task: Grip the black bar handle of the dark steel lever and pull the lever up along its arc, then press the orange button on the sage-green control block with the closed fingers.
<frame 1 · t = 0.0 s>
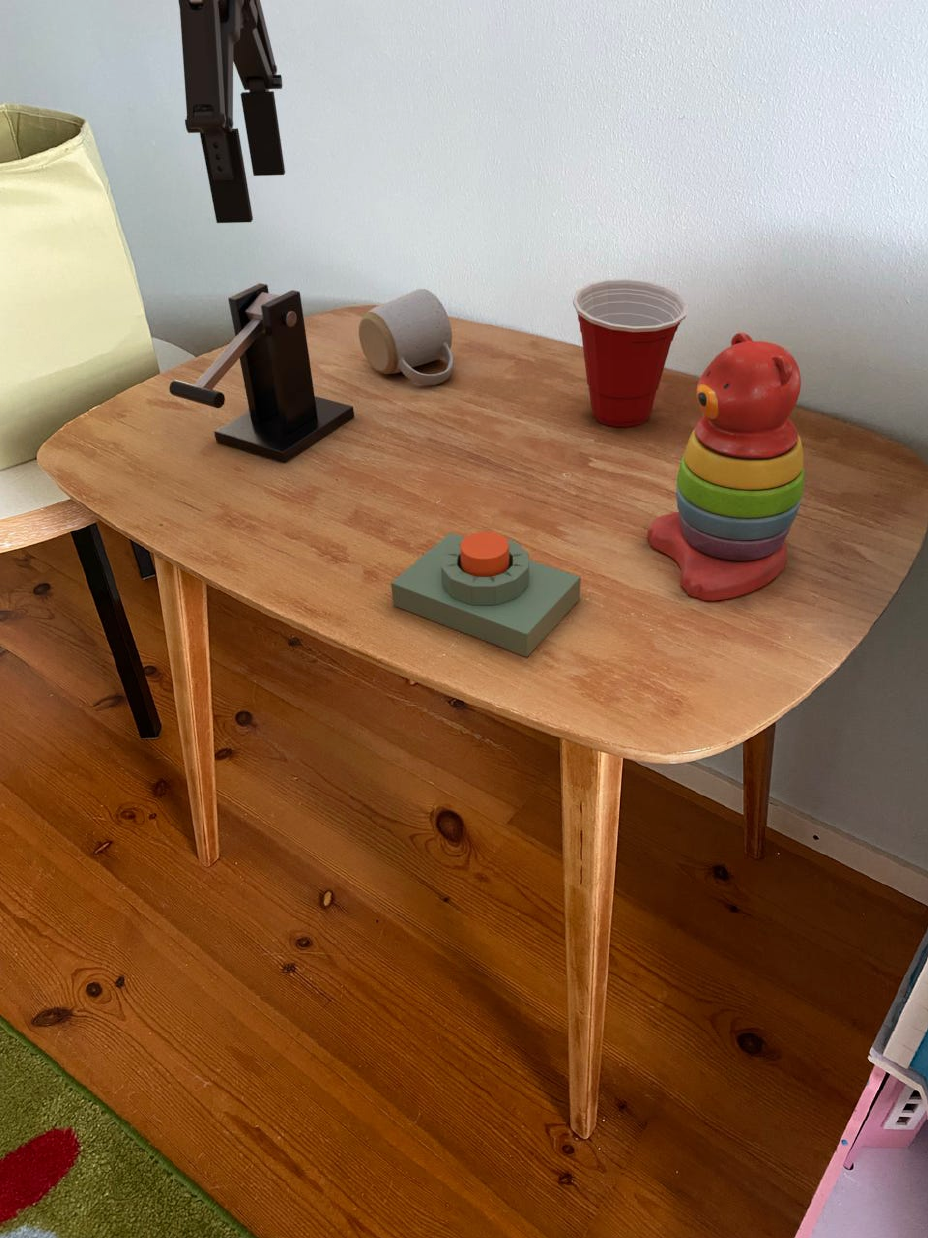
hand: (253, 196, 82), 23 cm above the table, tool pointing down, fingers open, 13 cm apart
ceramic mug: (415, 370, 110), on the table
bracket: (286, 429, 100), on the table
control block: (486, 602, 76), on the table
plastic cup: (622, 416, 99), on the table
stacking bear: (723, 558, 79), on the table
lever: (235, 350, 90), point 10 cm above the table, hinge at -20.0°
button: (484, 554, 73), point 4 cm above the table, slide at 0.1 cm
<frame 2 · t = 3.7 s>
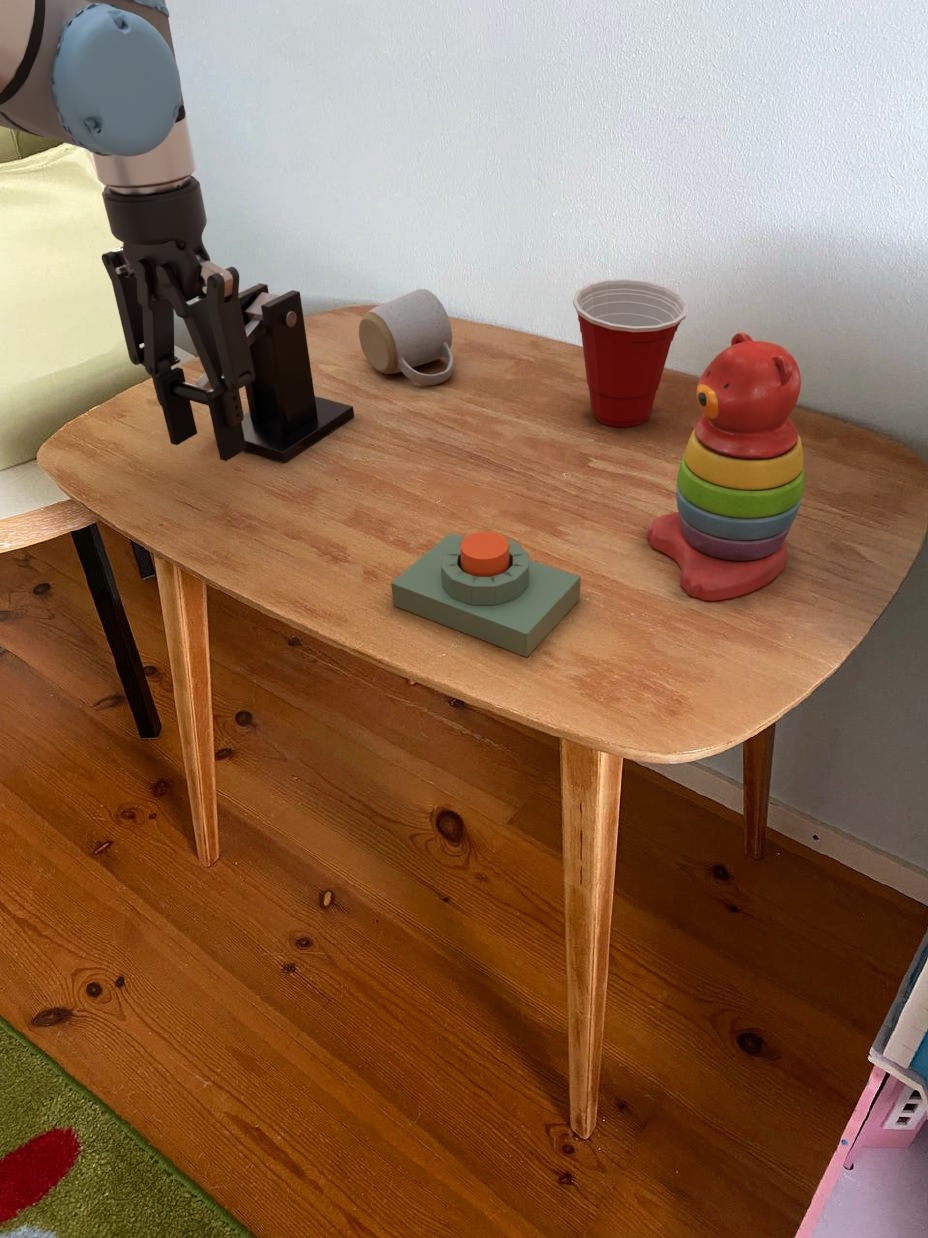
hand: (208, 445, 91), 3 cm above the table, tool pointing down, fingers closed on lever, 5 cm apart
lever: (235, 350, 90), point 10 cm above the table, hinge at -20.0°, touching gripper
everything else where it was.
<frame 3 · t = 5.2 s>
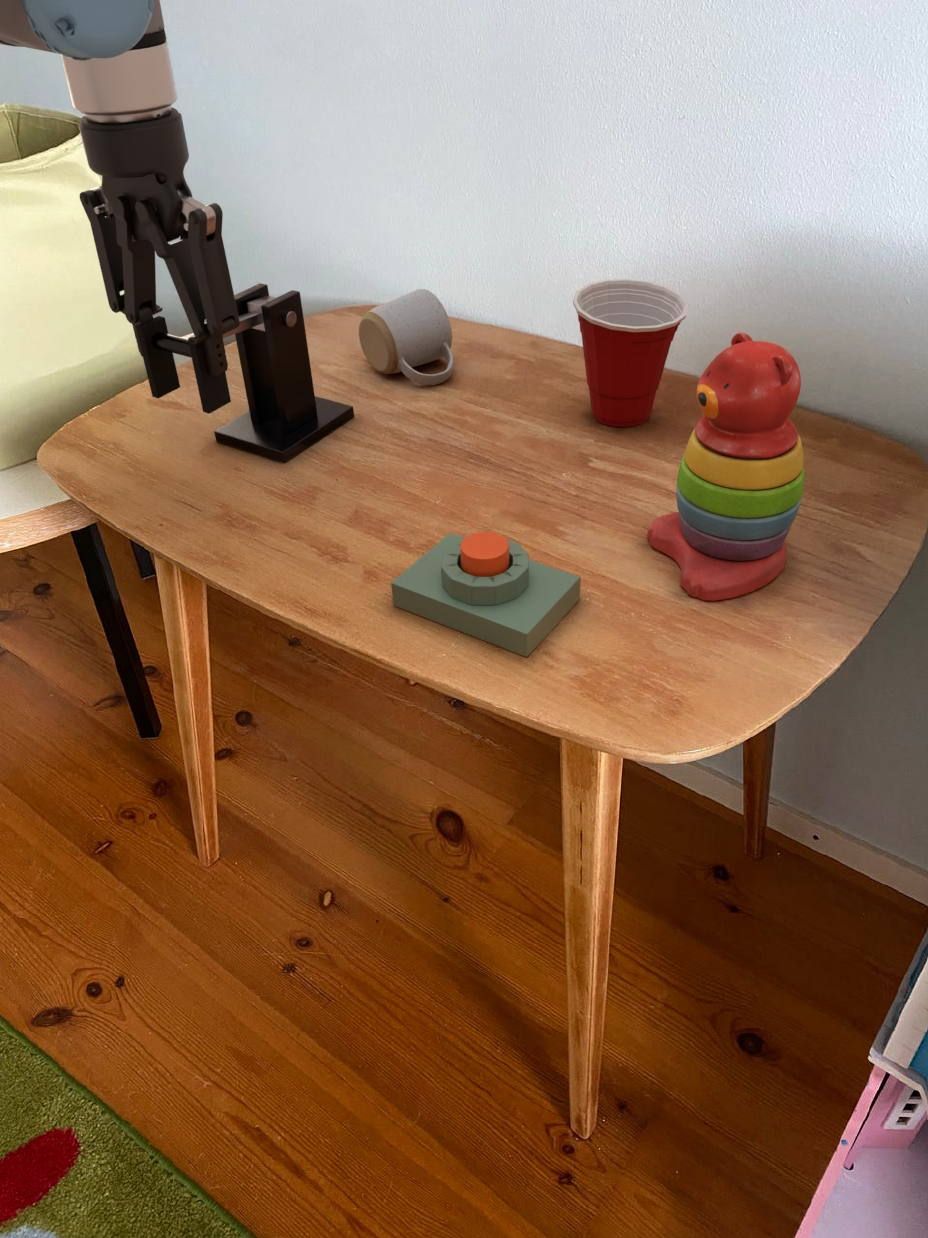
hand: (191, 398, 87), 8 cm above the table, tool pointing down, fingers closed on lever, 5 cm apart
lever: (228, 327, 89), point 12 cm above the table, hinge at 5.0°, touching gripper
everything else where it was.
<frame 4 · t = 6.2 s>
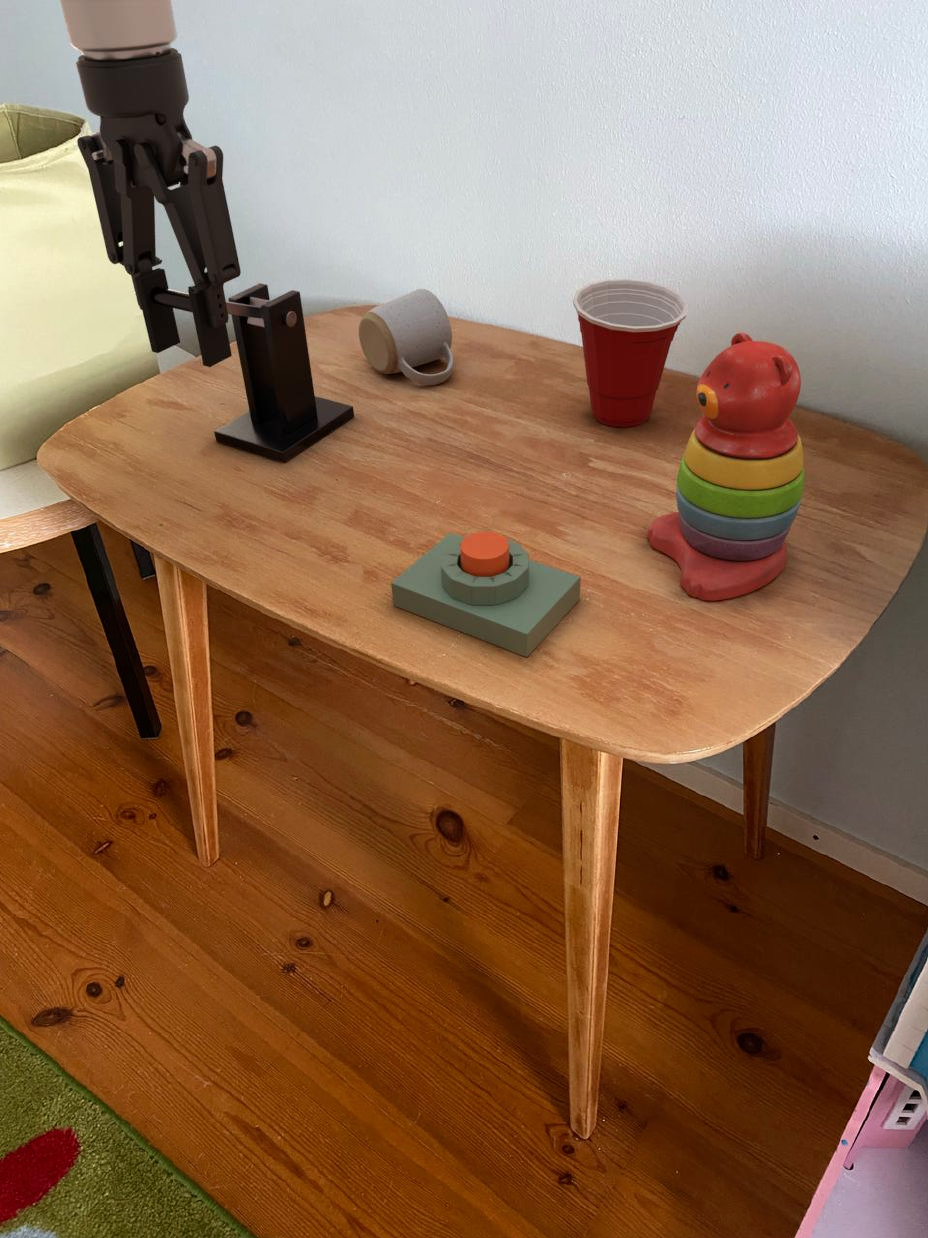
hand: (191, 353, 86), 12 cm above the table, tool pointing down, fingers closed on lever, 5 cm apart
lever: (228, 307, 88), point 14 cm above the table, hinge at 24.7°, touching gripper
everything else where it was.
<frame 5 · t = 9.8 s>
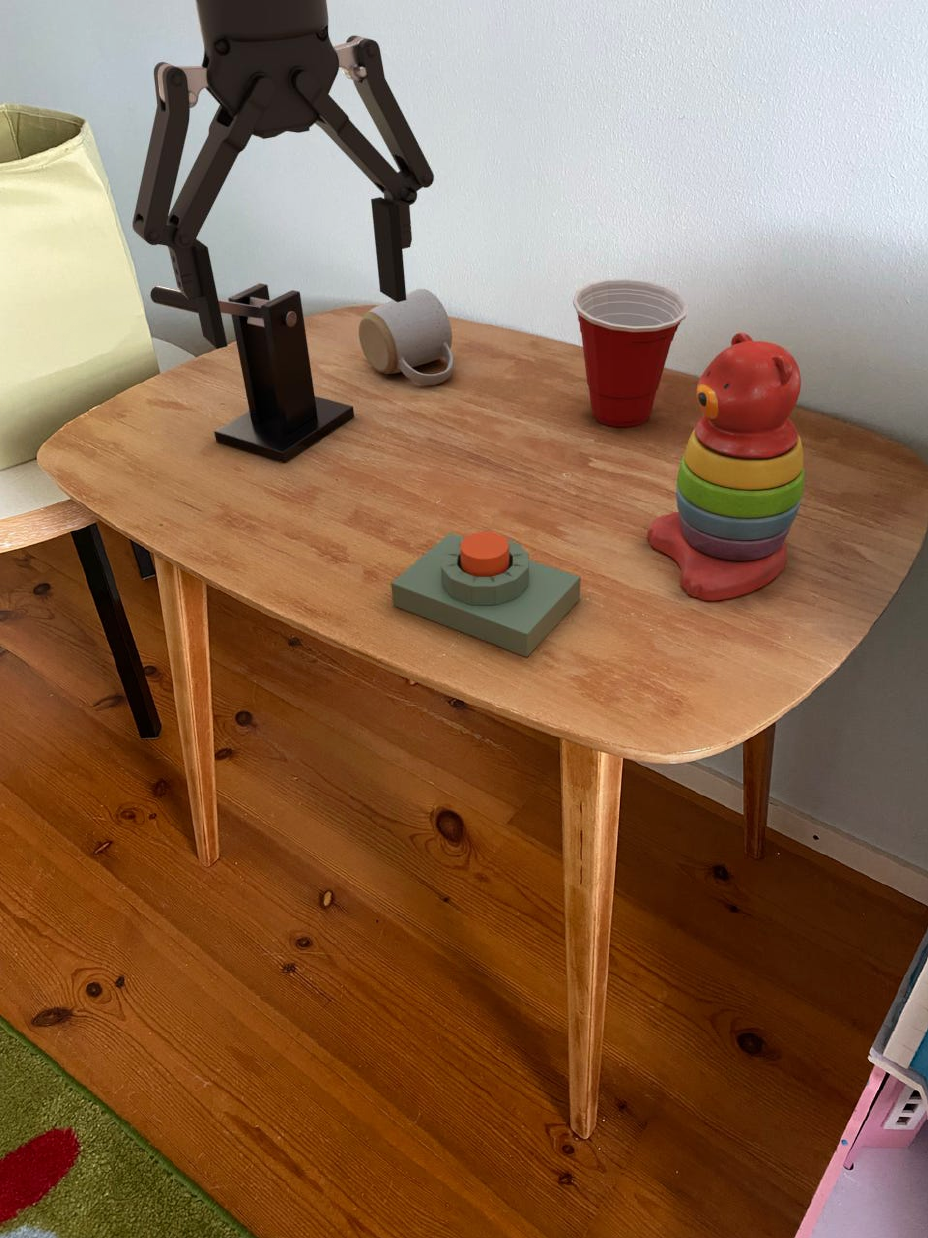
hand: (307, 318, 69), 20 cm above the table, tool pointing down, fingers open, 13 cm apart
lever: (228, 307, 88), point 14 cm above the table, hinge at 25.0°
everything else where it was.
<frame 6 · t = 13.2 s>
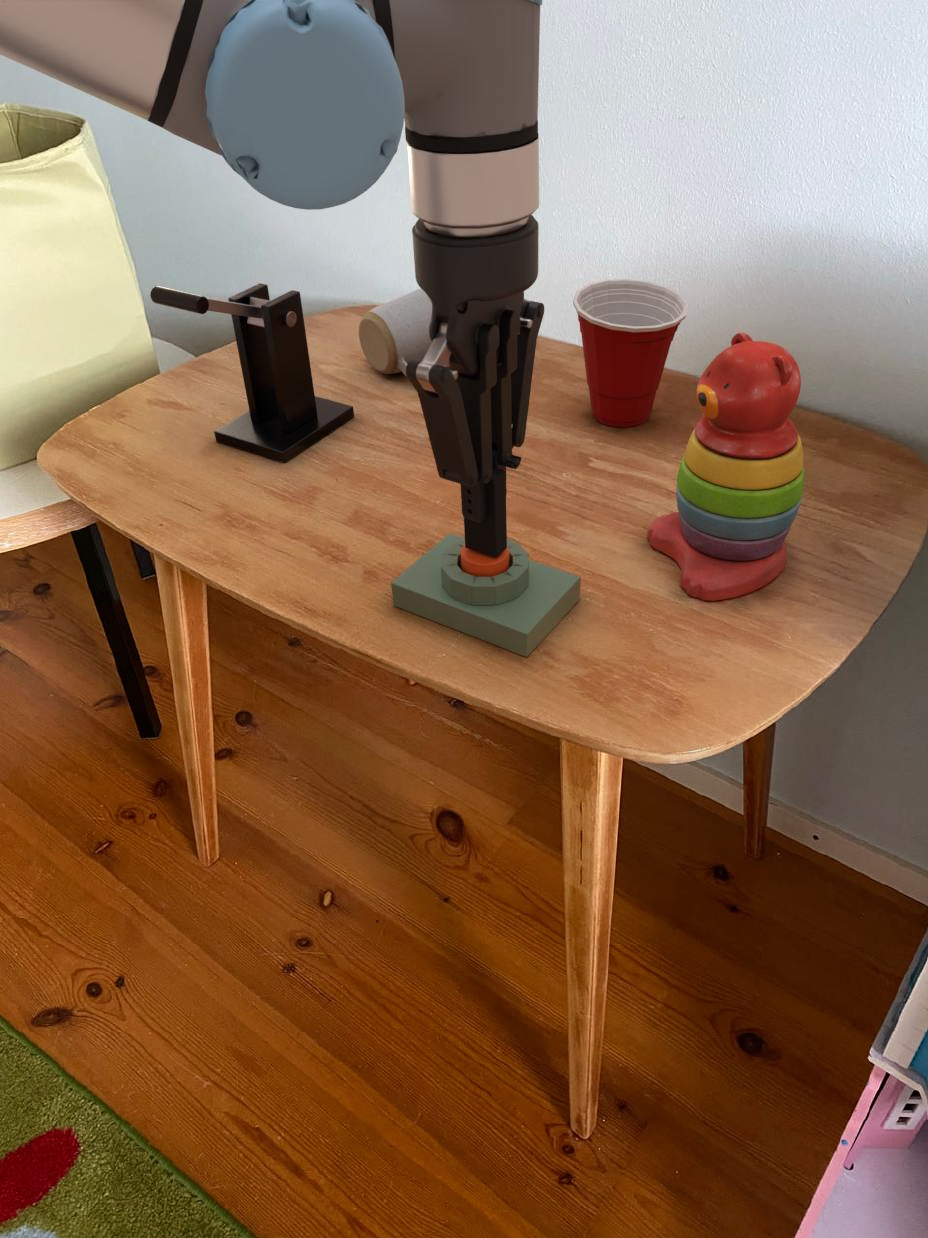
hand: (486, 547, 73), 5 cm above the table, tool pointing down, fingers closed
button: (485, 560, 73), point 4 cm above the table, slide at -0.4 cm, touching gripper
everything else where it was.
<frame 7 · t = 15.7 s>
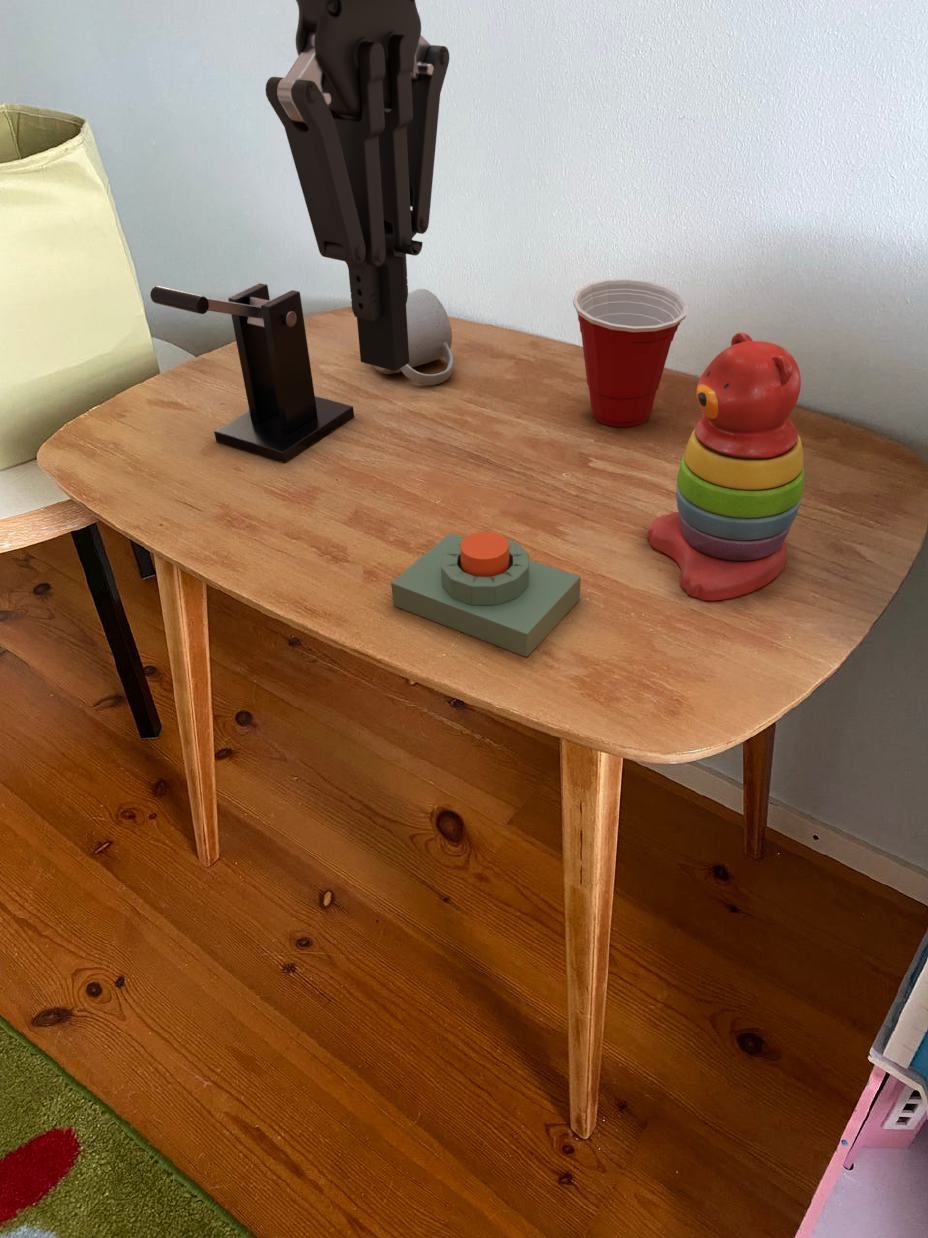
hand: (385, 361, 62), 21 cm above the table, tool pointing down, fingers closed
button: (484, 554, 73), point 4 cm above the table, slide at 0.1 cm
everything else where it was.
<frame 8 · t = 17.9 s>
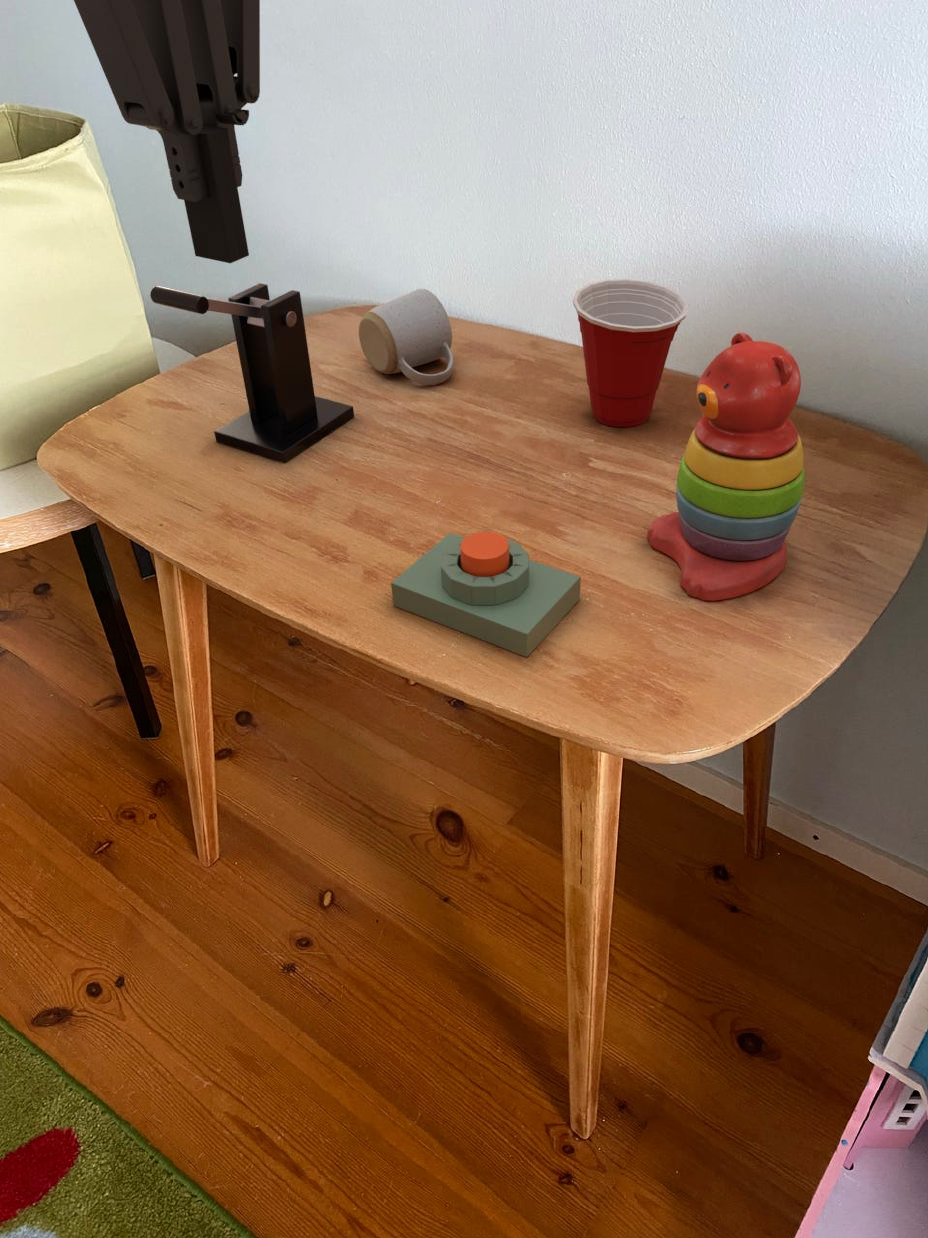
hand: (222, 255, 55), 28 cm above the table, tool pointing down, fingers closed
nothing on the table moved.
at the end: lever at +25° (first picture: -20°); button pushed in 1.0 cm at the most during the clip, back to where it started at the end; button slide at 0.1 cm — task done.
